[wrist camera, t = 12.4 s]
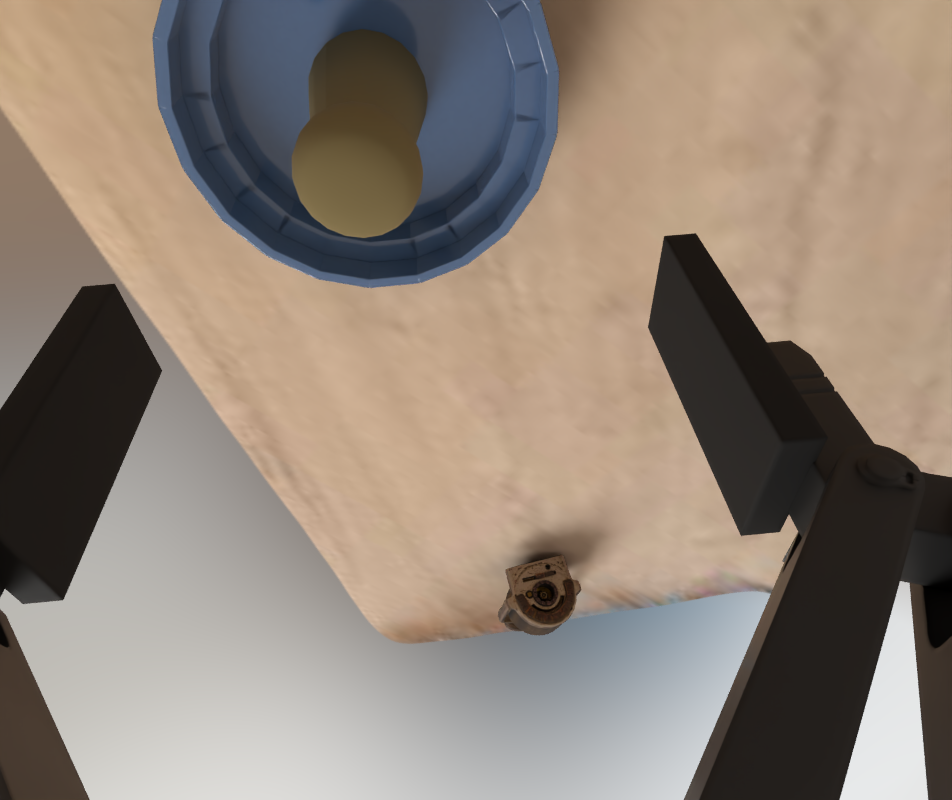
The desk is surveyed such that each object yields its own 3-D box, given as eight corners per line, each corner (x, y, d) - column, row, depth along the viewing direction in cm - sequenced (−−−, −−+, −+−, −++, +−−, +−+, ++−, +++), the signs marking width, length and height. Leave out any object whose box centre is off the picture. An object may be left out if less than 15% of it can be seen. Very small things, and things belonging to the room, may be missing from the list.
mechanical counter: (619, 605, 62) (538, 611, 57) (558, 671, 69) (480, 682, 64) (587, 545, 67) (510, 546, 62) (533, 613, 73) (459, 618, 68)
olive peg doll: (443, 133, 33) (455, 235, 25) (340, 169, 34) (319, 278, 26) (401, 10, 29) (400, 84, 21) (285, 54, 30) (242, 142, 22)
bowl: (112, -123, 26) (70, -113, 23) (546, -160, 26) (566, -156, 23) (249, 259, 39) (234, 301, 35) (541, 231, 39) (553, 270, 36)
